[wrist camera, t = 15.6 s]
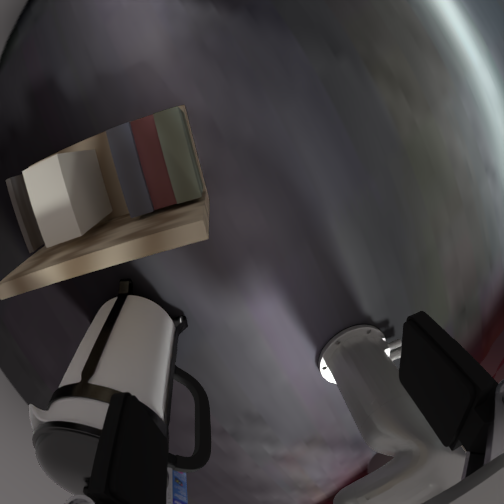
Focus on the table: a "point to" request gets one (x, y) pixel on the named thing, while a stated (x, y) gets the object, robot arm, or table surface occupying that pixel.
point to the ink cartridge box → (176, 488)
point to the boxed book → (67, 195)
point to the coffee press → (116, 389)
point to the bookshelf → (123, 203)
